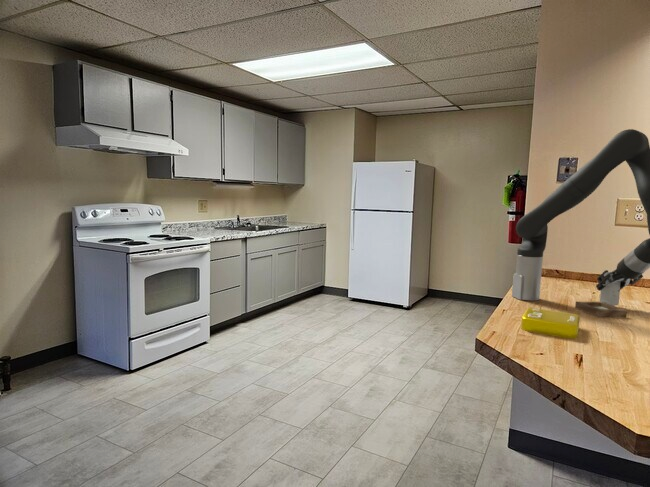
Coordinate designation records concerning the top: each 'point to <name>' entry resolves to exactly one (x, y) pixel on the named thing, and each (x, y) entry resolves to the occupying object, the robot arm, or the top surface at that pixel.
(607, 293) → the skincare box
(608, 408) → the top surface
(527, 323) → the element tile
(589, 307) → the seat block
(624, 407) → the top surface
